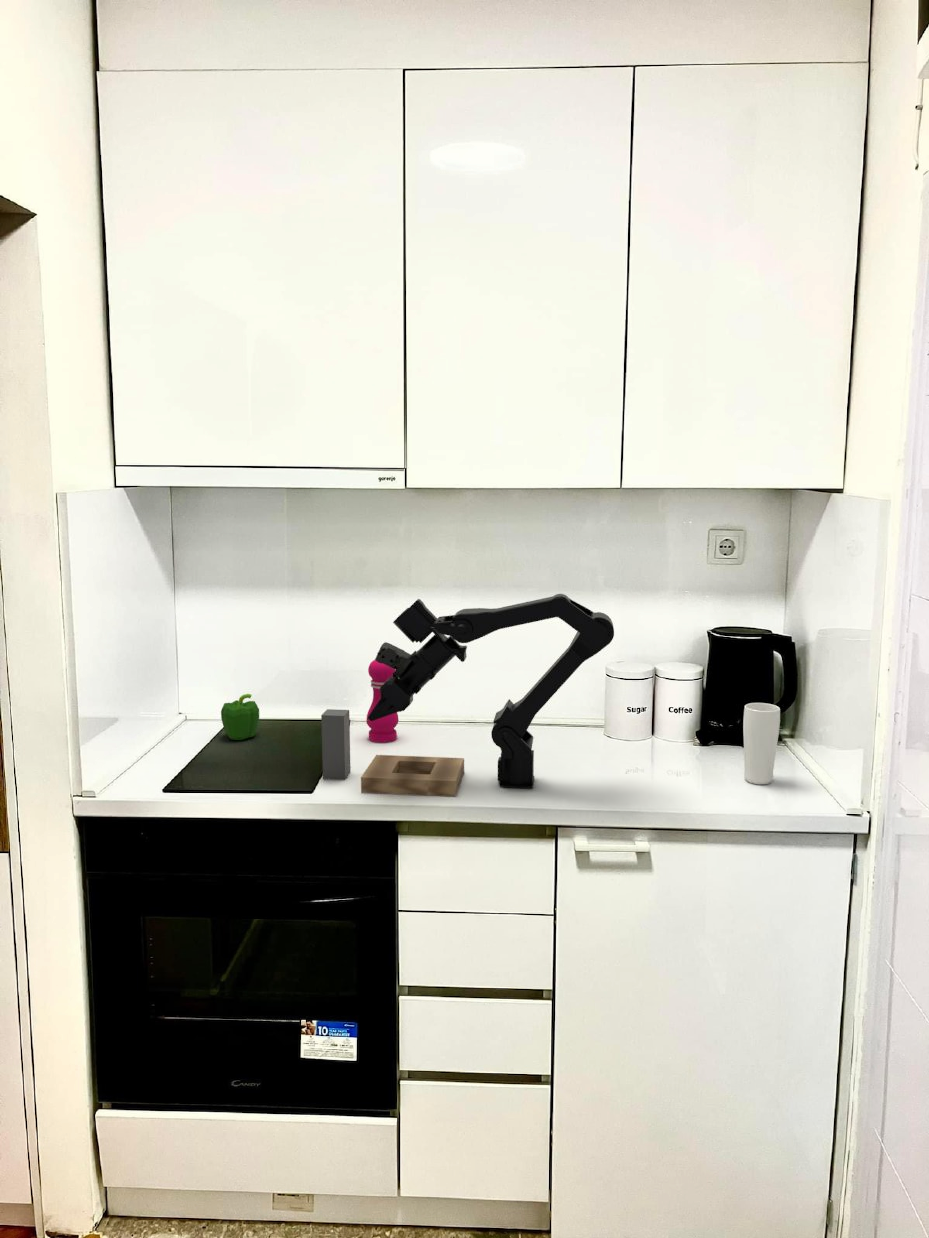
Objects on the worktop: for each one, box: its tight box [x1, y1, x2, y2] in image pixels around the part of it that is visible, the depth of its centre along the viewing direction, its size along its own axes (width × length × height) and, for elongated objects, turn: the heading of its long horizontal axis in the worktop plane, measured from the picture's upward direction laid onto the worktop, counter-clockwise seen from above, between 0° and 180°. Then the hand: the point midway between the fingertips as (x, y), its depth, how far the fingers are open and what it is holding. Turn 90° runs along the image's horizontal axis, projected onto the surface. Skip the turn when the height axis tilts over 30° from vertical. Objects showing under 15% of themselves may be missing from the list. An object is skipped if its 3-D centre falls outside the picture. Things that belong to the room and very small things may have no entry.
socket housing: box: [360, 754, 465, 797], centre depth 189 cm, size 18×14×3 cm
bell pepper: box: [220, 693, 260, 741], centre depth 218 cm, size 8×8×10 cm
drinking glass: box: [742, 702, 781, 785], centre depth 189 cm, size 7×7×15 cm
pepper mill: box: [365, 659, 399, 744], centre depth 216 cm, size 7×7×20 cm
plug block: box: [320, 708, 351, 781], centre depth 192 cm, size 4×4×13 cm
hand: (374, 713), depth 190 cm, fingers open, 9 cm apart
